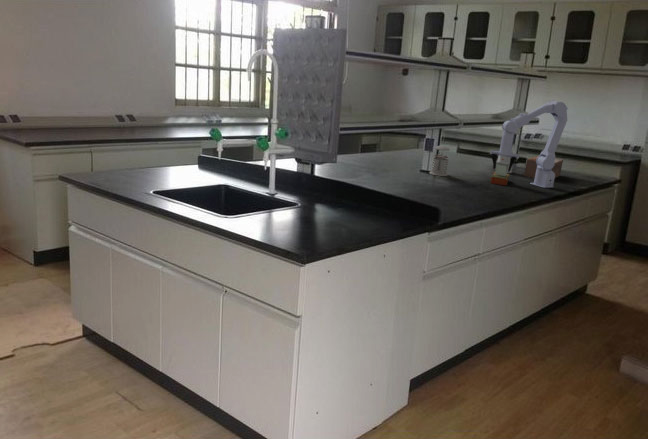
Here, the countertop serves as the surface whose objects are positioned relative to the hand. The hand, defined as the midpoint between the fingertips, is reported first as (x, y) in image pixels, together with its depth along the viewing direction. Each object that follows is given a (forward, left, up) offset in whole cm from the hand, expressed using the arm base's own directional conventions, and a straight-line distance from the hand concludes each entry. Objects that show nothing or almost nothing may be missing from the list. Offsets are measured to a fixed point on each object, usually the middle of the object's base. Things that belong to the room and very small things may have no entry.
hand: (501, 169), depth 302 cm
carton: (0, 0, -7) cm, 7 cm away
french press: (+20, +25, -7) cm, 33 cm away
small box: (+24, -28, -7) cm, 37 cm away
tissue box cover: (+12, -47, -7) cm, 49 cm away
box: (0, 0, -3) cm, 3 cm away
